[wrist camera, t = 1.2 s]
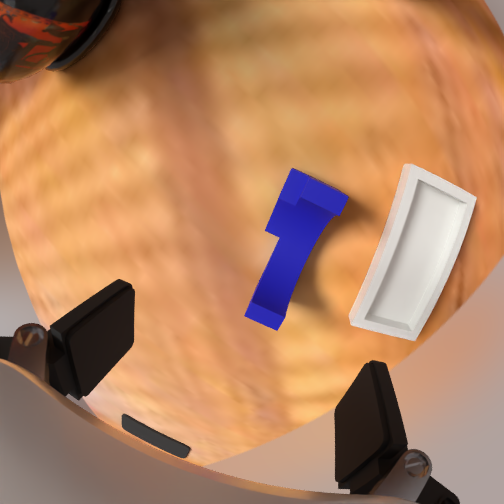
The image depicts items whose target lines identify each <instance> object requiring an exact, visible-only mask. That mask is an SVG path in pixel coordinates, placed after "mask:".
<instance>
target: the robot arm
mask: <svg viewBox="0 0 504 504" xmlns="http://www.w3.org/2000/svg"><path fill="white" fill-rule="evenodd" d="M134 304H135V290H134V289H133V288H132V285H131V284H130V283H128V282H125V281H123V280H121V279H118V280H116V281H114V282H113V283H111V284H110V285H108V286H107V287H105V288H104V289H102V290H101V291H99V292H98V293H96V294H95V295H93V296H92V297H90V298H89V299H87V300H86V301H84V302H83V303H82V304H80V305H79V306H77V307H76V308H74V309H73V310H71V311H70V312H69V313H67V314H66V315H64V316H63V317H62V318H60V319H59V320H57V321H56V322H55V323H53V324H52V325H50V330H48V331H46V329H45V328H44V327H43V326H41V325H39V324H35V323H29V324H25V325H22V326H21V327H19V328H18V329H17V330H16V331H15V333H14V336H13V337H0V504H460V502H459V499H458V497H457V496H456V495H455V494H454V493H452V492H451V491H450V490H448V489H447V488H445V487H444V486H443V485H442V484H440V483H439V482H437V481H436V480H435V479H434V478H432V477H431V476H430V475H431V471H432V463H431V460H430V459H429V457H428V456H427V455H426V454H425V453H424V452H422V451H420V450H417V449H410V450H408V448H407V444H408V442H407V438H406V433H405V429H404V425H403V421H402V417H401V413H400V409H399V406H398V402H397V398H396V395H395V391H394V388H393V384H392V381H391V378H390V375H389V371H388V368H387V365H386V363H384V362H379V361H374V360H372V361H370V362H369V363H366V364H365V365H364V366H363V368H362V369H361V371H360V372H359V374H358V376H357V377H356V379H355V380H354V382H353V383H352V385H351V386H350V388H349V389H348V391H347V392H346V393H345V395H344V396H343V398H342V399H341V401H340V402H339V403H338V405H337V406H336V409H335V413H334V417H335V480H336V482H338V488H339V489H350V494H335V493H322V492H313V491H304V490H296V489H289V488H283V487H277V486H271V485H267V484H262V483H257V482H253V481H249V480H244V479H240V478H237V477H233V476H229V475H226V474H222V473H219V472H216V471H212V470H209V469H206V468H203V467H200V466H197V465H195V464H192V463H189V462H186V461H184V460H181V459H179V458H176V457H174V456H171V455H169V454H166V453H164V452H162V451H160V450H157V449H155V448H153V447H151V446H149V445H146V444H144V443H142V442H140V441H138V440H136V439H134V438H132V437H130V436H128V435H126V434H125V433H123V432H121V431H119V430H117V429H115V428H114V427H112V426H110V425H108V424H107V423H105V422H103V421H102V420H100V419H98V418H97V417H95V416H93V415H92V414H90V413H89V412H87V411H86V410H84V409H83V408H81V407H79V406H78V405H76V404H75V403H73V402H72V401H71V400H69V399H68V398H66V397H65V396H66V395H67V394H68V393H69V394H70V395H71V396H73V397H74V398H76V399H77V400H80V398H82V397H83V396H87V395H89V393H90V392H91V391H92V390H93V389H94V388H95V387H96V386H97V385H98V383H99V382H100V381H101V380H102V379H103V378H104V377H105V376H106V375H107V373H108V372H109V371H110V370H111V369H112V368H113V367H114V366H115V365H116V364H117V362H118V361H119V360H120V359H121V358H122V357H123V356H124V355H125V354H126V353H127V352H128V351H129V349H130V348H131V347H132V345H133V343H134Z"/></svg>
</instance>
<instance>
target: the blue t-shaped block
mask: <svg viewBox="0 0 504 504" xmlns="http://www.w3.org/2000/svg"><path fill="white" fill-rule="evenodd" d="M348 198H349V197H348V196H347V195H345V194H344V193H342V192H341V191H340V190H338V189H336V188H334V187H332V186H330V185H328V184H326V183H324V182H322V181H320V180H317V179H315V178H313V177H311V176H309V175H307V174H305V173H302V172H300V171H298V170H296V169H294V168H292V169H291V171H290V173H289V175H288V178H287V180H286V182H285V184H284V187H283V189H282V191H281V193H280V196H279V198H278V200H277V203H276V205H275V208H274V210H273V213H272V215H271V217H270V220H269V222H268V224H267V227H266V229H265V231H267V232H269V233H271V234H273V235H275V236H278V237H280V238H279V240H278V242H277V245H276V247H275V249H274V251H273V253H272V255H271V257H270V259H269V262H268V264H267V266H266V268H265V270H264V272H263V274H262V276H261V278H260V280H259V283H258V285H257V287H256V289H255V292H254V294H253V296H252V299H251V301H250V303H249V306H248V308H247V311H246V313H245V315H244V316H245V317H247V318H250V319H252V320H254V321H256V322H258V323H261V324H263V325H265V326H267V327H270V328H272V329H274V330H278V329H279V327H280V325H281V324H282V322H283V320H284V319H285V316H286V311H287V308H288V304H289V301H290V298H291V295H292V293H293V290H294V287H295V285H296V283H297V280H298V278H299V275H300V273H301V271H302V269H303V267H304V264H305V262H306V260H307V258H308V256H309V254H310V252H311V250H312V248H313V247H314V245H315V243H316V241H317V239H318V238H319V236H320V234H321V233H322V231H323V229H324V228H325V227H326V225H327V224H328V222H329V221H330V220H331V219H332V218H333V217H334V216H336V215H338V216H340V214H341V212H342V210H343V208H344V206H345V204H346V202H347V200H348Z"/></svg>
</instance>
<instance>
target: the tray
mask: <svg viewBox="0 0 504 504" xmlns="http://www.w3.org/2000/svg"><path fill="white" fill-rule="evenodd" d="M476 198H477V197H475V196H473V195H472V194H470V193H468V192H466V191H465V190H463V189H461V188H459V187H457V186H456V185H454V184H452V183H450V182H448V181H446V180H444V179H442V178H440V177H438V176H436V175H434V174H432V173H430V172H428V171H426V170H424V169H422V168H420V167H418V166H415V165H413V164H404V166H403V169H402V173H401V177H400V180H399V184H398V187H397V190H396V194H395V197H394V200H393V203H392V207H391V210H390V213H389V216H388V219H387V222H386V225H385V227H384V230H383V233H382V236H381V239H380V241H379V244H378V247H377V249H376V252H375V255H374V257H373V260H372V262H371V265H370V267H369V270H368V272H367V275H366V277H365V279H364V282H363V284H362V286H361V289H360V291H359V293H358V296H357V298H356V300H355V302H354V304H353V307H352V309H351V311H350V313H349V319H350V323H351V325H352V326H356V327H359V328H363V329H367V330H371V331H375V332H379V333H383V334H387V335H391V336H395V337H399V338H404V339H408V340H412V341H415V340H416V338H417V337H418V335H419V333H420V331H421V330H422V328H423V326H424V324H425V323H426V321H427V319H428V317H429V315H430V314H431V312H432V310H433V308H434V306H435V304H436V302H437V300H438V298H439V296H440V294H441V292H442V290H443V288H444V286H445V283H446V281H447V279H448V277H449V274H450V272H451V270H452V268H453V265H454V263H455V260H456V258H457V255H458V253H459V250H460V248H461V245H462V242H463V239H464V237H465V234H466V231H467V228H468V225H469V222H470V219H471V216H472V212H473V209H474V206H475V202H476Z"/></svg>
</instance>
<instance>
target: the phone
mask: <svg viewBox="0 0 504 504" xmlns="http://www.w3.org/2000/svg"><path fill="white" fill-rule="evenodd" d="M122 427H123V429H125V430H126V431H128V432H129V433H131V434H133V435H135V436H137V437H139V438H140V439H142V440H144V441H146V442H148V443H150V444H152V445H154V446H156V447H158V448H160V449H162V450H164V451H166V452H169V453H171V454H173V455H175V456H178V457H180V458H185V457H186V456H187V454H188V452H189V450H190V447H189V446H187V445H185V444H183V443H181V442H179V441H176V440H174V439H172V438H170V437H168V436H166V435H164V434H162V433H160V432H158V431H156V430H154V429H152V428H150V427H148V426H147V425H145V424H143V423H141V422H139V421H137V420H135V419H134V418H132V417H130V416H128V415H127V414H123V415H122Z"/></svg>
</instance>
